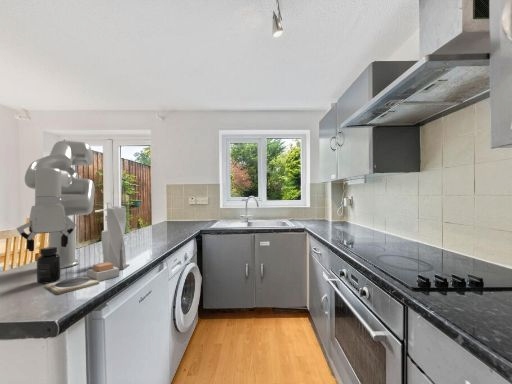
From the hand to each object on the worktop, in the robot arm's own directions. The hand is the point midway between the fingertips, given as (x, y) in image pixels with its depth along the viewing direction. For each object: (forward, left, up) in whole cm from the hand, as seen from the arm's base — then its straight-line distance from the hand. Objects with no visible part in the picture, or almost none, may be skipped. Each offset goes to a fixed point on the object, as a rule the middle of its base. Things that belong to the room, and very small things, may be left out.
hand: (48, 248), depth 96 cm
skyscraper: (+2, +23, -12) cm, 26 cm away
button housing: (+11, +14, -12) cm, 21 cm away
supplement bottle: (-1, 0, -12) cm, 12 cm away
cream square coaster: (+12, +3, -12) cm, 17 cm away
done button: (+11, +14, -9) cm, 20 cm away
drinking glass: (-8, +25, -12) cm, 29 cm away
